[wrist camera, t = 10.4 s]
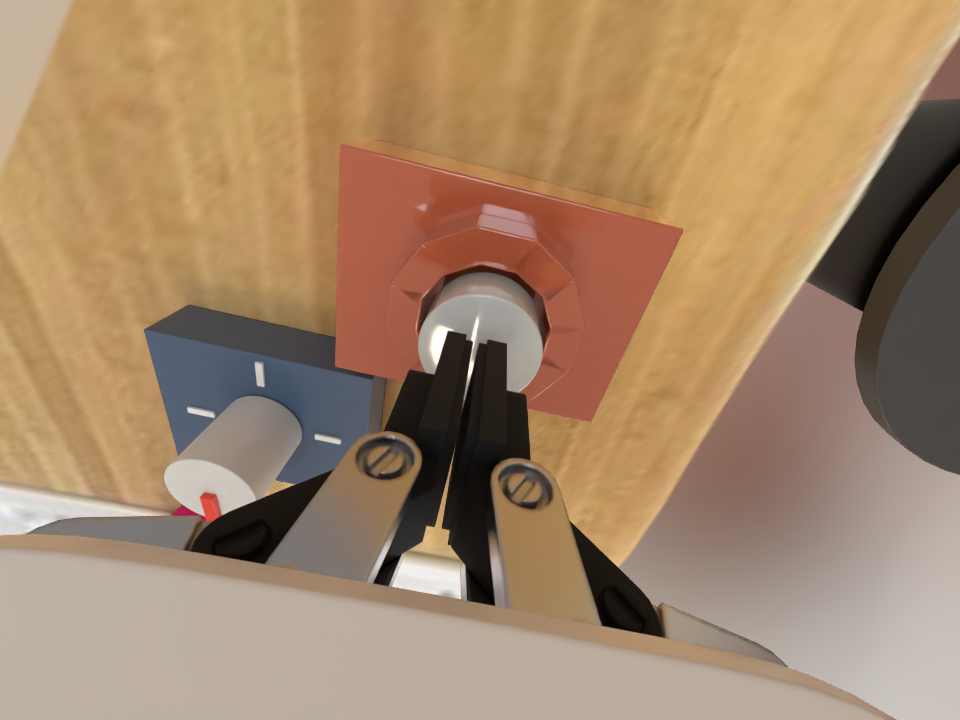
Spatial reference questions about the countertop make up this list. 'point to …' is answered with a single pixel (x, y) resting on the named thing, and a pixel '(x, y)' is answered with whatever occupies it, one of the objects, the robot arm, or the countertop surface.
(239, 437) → the grey dial knob
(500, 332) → the push button
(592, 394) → the orange button housing
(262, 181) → the countertop surface
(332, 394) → the tap panel
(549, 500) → the robot arm
